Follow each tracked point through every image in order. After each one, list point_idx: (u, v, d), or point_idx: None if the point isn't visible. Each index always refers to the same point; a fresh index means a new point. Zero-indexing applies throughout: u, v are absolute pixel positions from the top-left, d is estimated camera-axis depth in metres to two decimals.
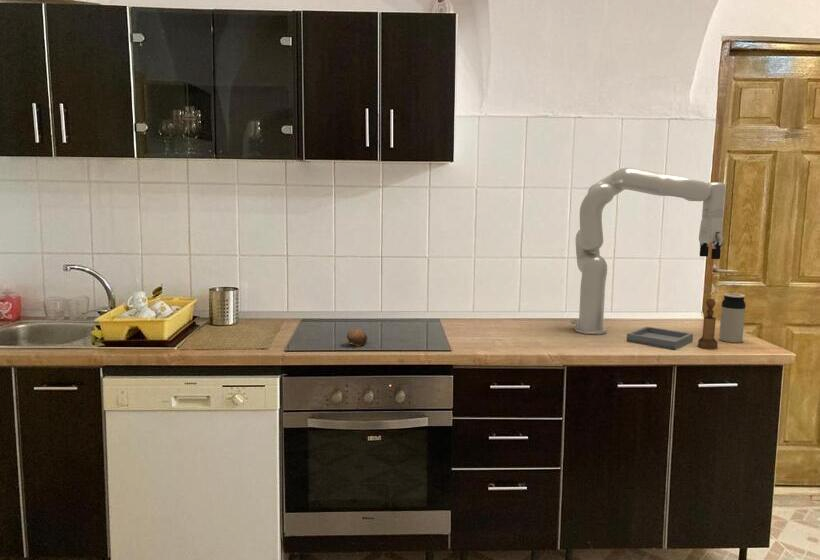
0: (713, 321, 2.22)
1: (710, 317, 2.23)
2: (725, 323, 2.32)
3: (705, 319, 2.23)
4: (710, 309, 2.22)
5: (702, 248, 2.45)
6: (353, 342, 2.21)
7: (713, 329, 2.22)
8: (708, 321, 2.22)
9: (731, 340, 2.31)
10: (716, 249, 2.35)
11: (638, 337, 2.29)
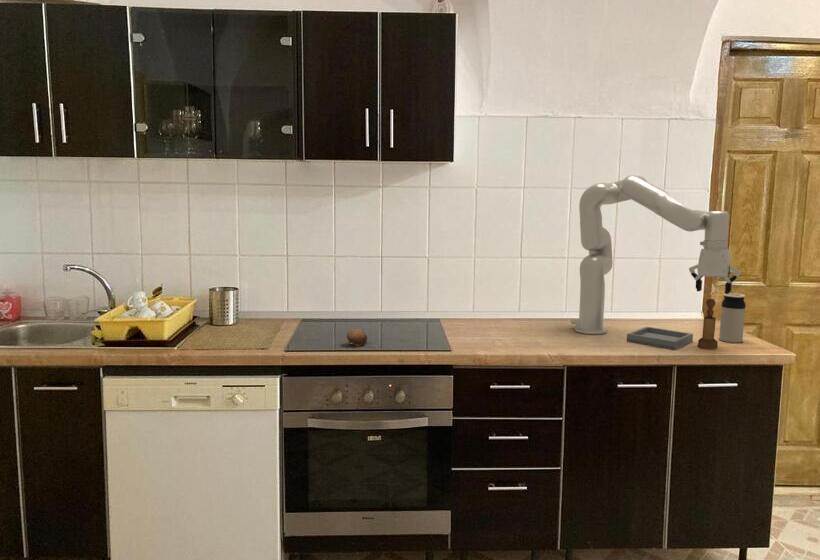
0: (713, 321, 2.22)
1: (710, 317, 2.23)
2: (725, 323, 2.32)
3: (705, 319, 2.23)
4: (710, 309, 2.22)
5: (699, 282, 2.24)
6: (353, 342, 2.21)
7: (713, 329, 2.22)
8: (708, 321, 2.22)
9: (731, 340, 2.31)
10: (730, 283, 2.17)
11: (638, 337, 2.29)
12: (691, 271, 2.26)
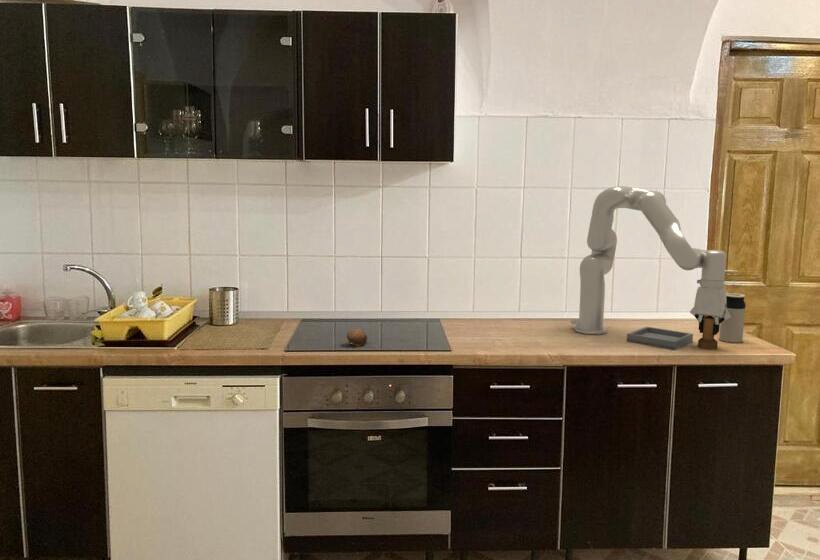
0: (713, 321, 2.22)
1: (710, 317, 2.23)
2: (725, 323, 2.32)
3: (705, 319, 2.23)
4: None
5: (702, 324, 2.25)
6: (353, 342, 2.21)
7: None
8: (708, 321, 2.22)
9: (731, 340, 2.31)
10: (718, 324, 2.21)
11: (638, 337, 2.29)
12: (693, 313, 2.27)
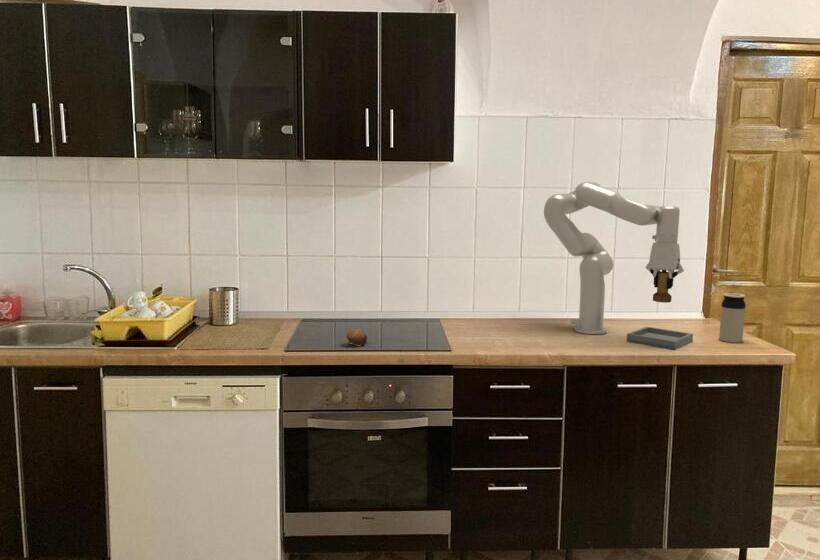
0: (667, 275, 2.28)
1: (664, 271, 2.29)
2: (725, 323, 2.32)
3: (659, 273, 2.29)
4: None
5: (657, 279, 2.30)
6: (353, 342, 2.21)
7: None
8: (662, 275, 2.28)
9: (731, 340, 2.31)
10: (672, 279, 2.27)
11: (638, 337, 2.29)
12: (648, 269, 2.33)
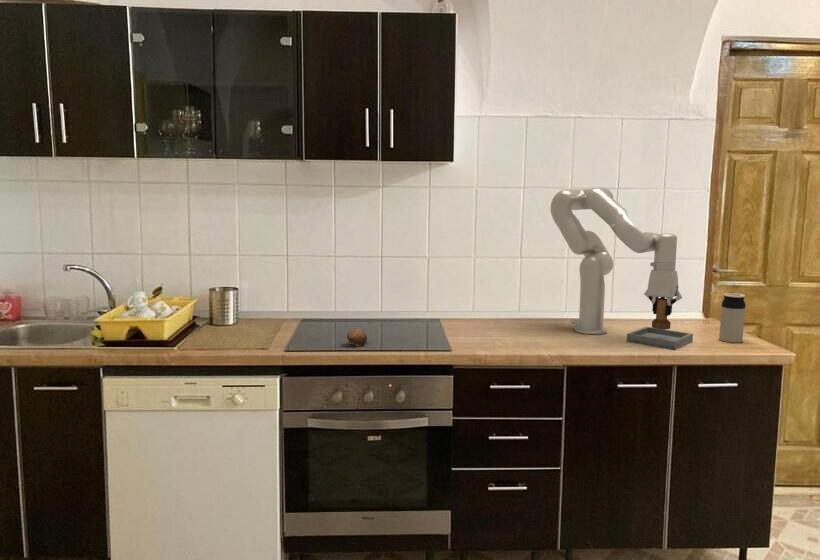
0: (665, 302, 2.29)
1: (663, 298, 2.30)
2: (725, 323, 2.32)
3: (658, 300, 2.30)
4: None
5: (656, 305, 2.32)
6: (353, 342, 2.21)
7: None
8: (661, 302, 2.29)
9: (731, 340, 2.31)
10: (670, 305, 2.28)
11: (638, 337, 2.29)
12: (647, 295, 2.34)
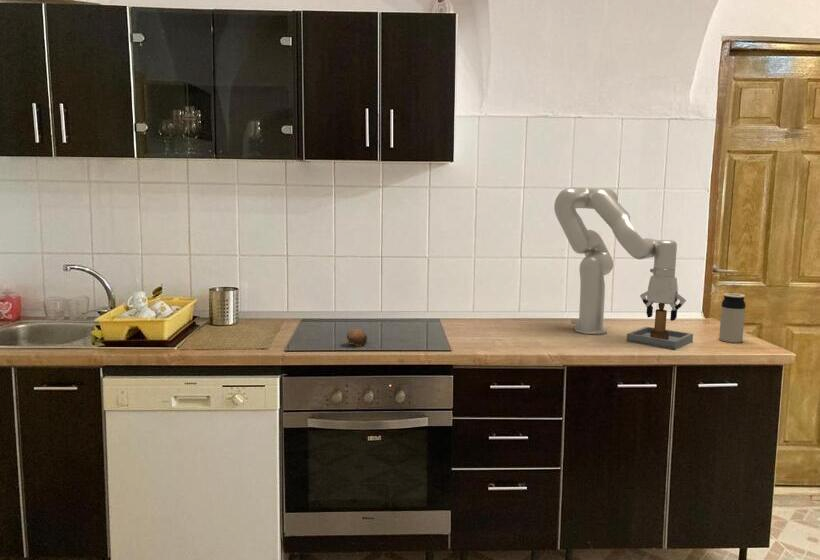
0: (664, 314, 2.30)
1: (661, 310, 2.31)
2: (725, 323, 2.32)
3: (656, 312, 2.31)
4: None
5: (650, 309, 2.33)
6: (353, 342, 2.21)
7: (664, 321, 2.30)
8: (659, 314, 2.30)
9: (731, 340, 2.31)
10: (676, 310, 2.27)
11: (638, 337, 2.29)
12: (642, 298, 2.35)
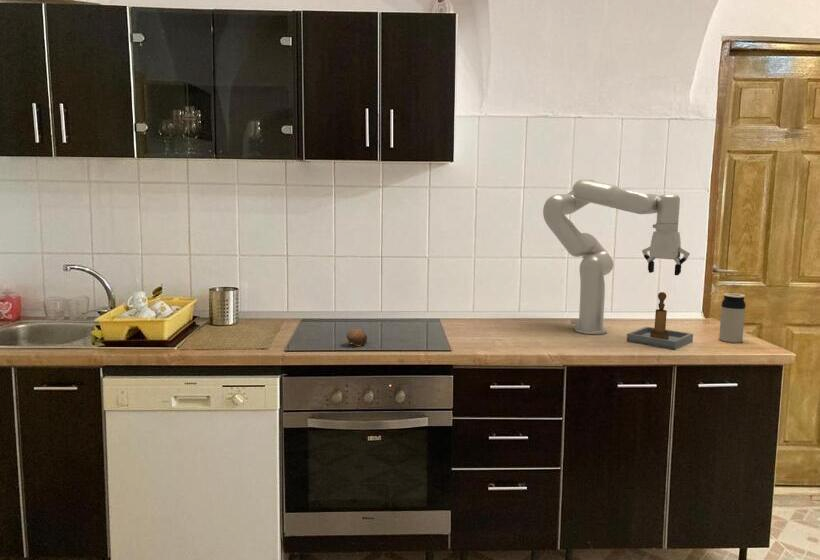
0: (664, 314, 2.30)
1: (661, 310, 2.31)
2: (725, 323, 2.32)
3: (656, 312, 2.31)
4: (661, 302, 2.30)
5: (651, 264, 2.31)
6: (353, 342, 2.21)
7: (664, 321, 2.30)
8: (659, 314, 2.30)
9: (731, 340, 2.31)
10: (680, 265, 2.25)
11: (638, 337, 2.29)
12: (644, 253, 2.33)
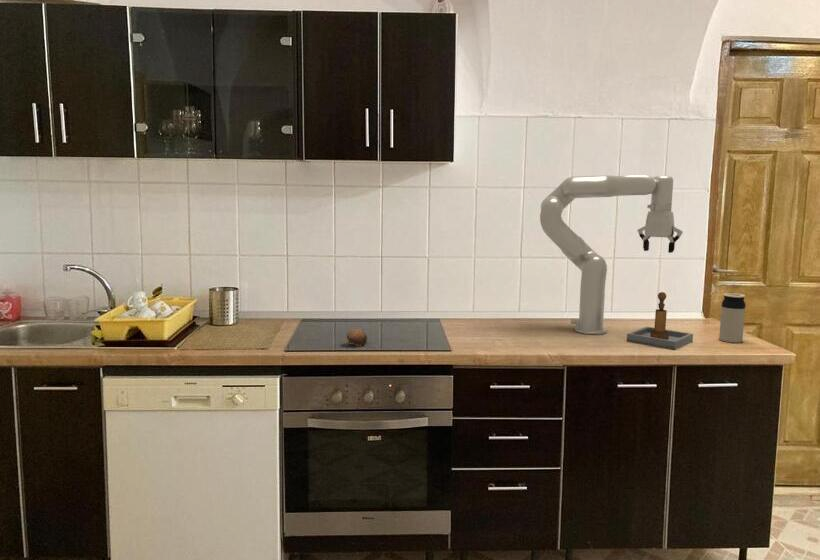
0: (664, 313, 2.30)
1: (661, 310, 2.31)
2: (725, 323, 2.32)
3: (656, 312, 2.31)
4: (661, 302, 2.30)
5: (646, 242, 2.43)
6: (353, 342, 2.21)
7: (664, 321, 2.30)
8: (659, 314, 2.30)
9: (731, 340, 2.31)
10: (673, 242, 2.36)
11: (638, 337, 2.29)
12: (639, 232, 2.45)
